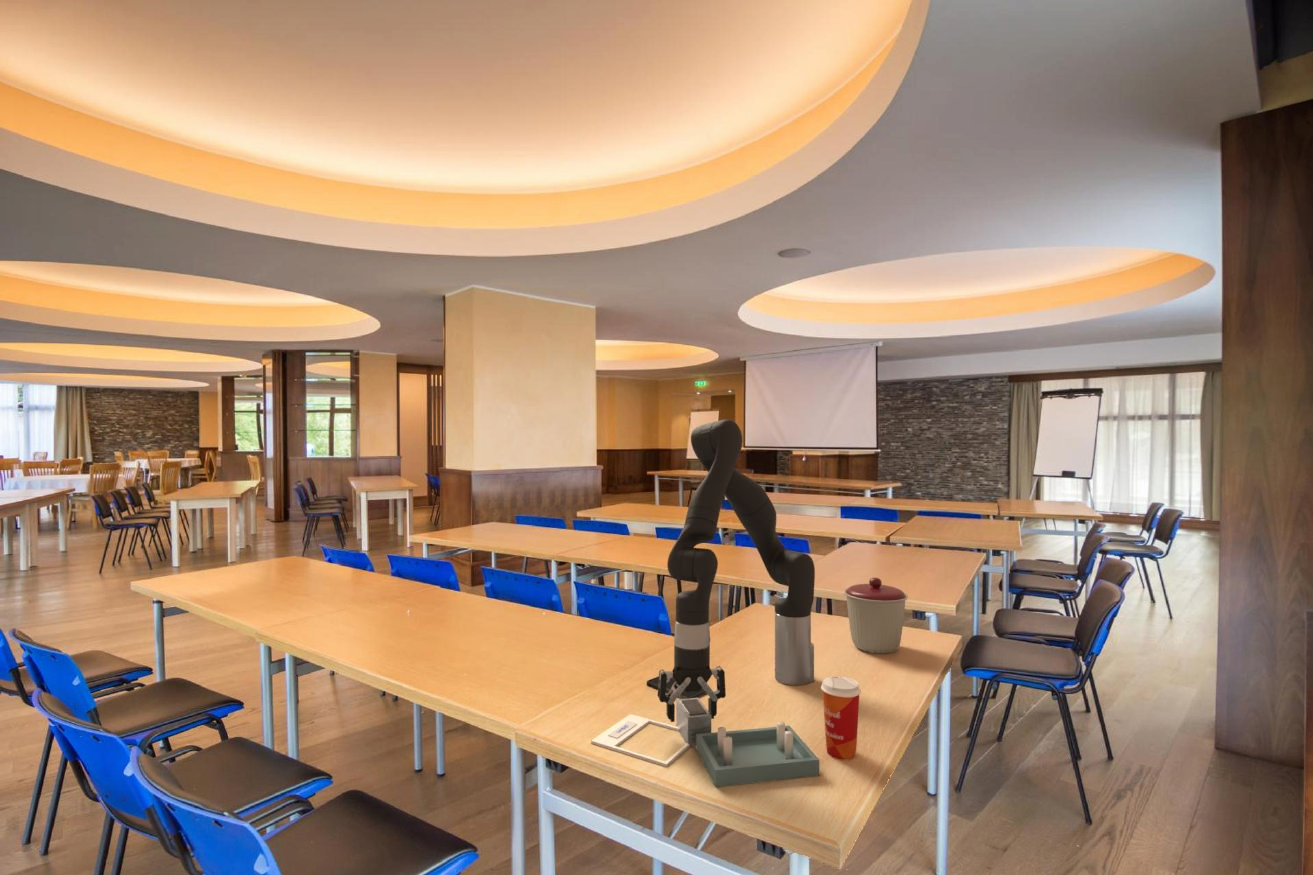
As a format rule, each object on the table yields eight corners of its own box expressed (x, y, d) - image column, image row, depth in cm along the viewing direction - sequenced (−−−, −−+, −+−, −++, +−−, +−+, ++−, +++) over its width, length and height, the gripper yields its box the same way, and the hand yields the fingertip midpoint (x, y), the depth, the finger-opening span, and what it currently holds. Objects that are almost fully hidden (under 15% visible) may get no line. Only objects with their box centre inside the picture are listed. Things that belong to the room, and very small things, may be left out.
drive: (676, 727, 135) (676, 698, 135) (698, 724, 137) (698, 696, 137) (687, 747, 127) (687, 716, 127) (711, 744, 128) (711, 714, 128)
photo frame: (630, 713, 141) (701, 732, 131) (630, 718, 141) (701, 737, 131) (591, 739, 128) (666, 762, 119) (591, 744, 128) (666, 768, 119)
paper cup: (815, 744, 128) (815, 675, 128) (852, 742, 128) (851, 674, 128) (829, 763, 120) (829, 691, 120) (868, 762, 120) (867, 689, 120)
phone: (665, 673, 165) (709, 689, 154) (665, 677, 165) (709, 693, 154) (644, 681, 159) (688, 698, 148) (644, 686, 159) (688, 703, 148)
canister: (855, 634, 199) (855, 569, 199) (914, 645, 188) (914, 576, 189) (835, 650, 184) (835, 579, 185) (898, 663, 174) (898, 587, 174)
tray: (789, 739, 129) (789, 710, 129) (819, 775, 116) (819, 743, 116) (696, 749, 126) (695, 719, 126) (715, 786, 112) (715, 753, 112)
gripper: (719, 635, 137) (719, 709, 137) (655, 638, 134) (655, 713, 134) (729, 646, 129) (729, 724, 129) (662, 649, 127) (661, 729, 127)
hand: (691, 718), depth 132 cm, fingers open, 8 cm apart
